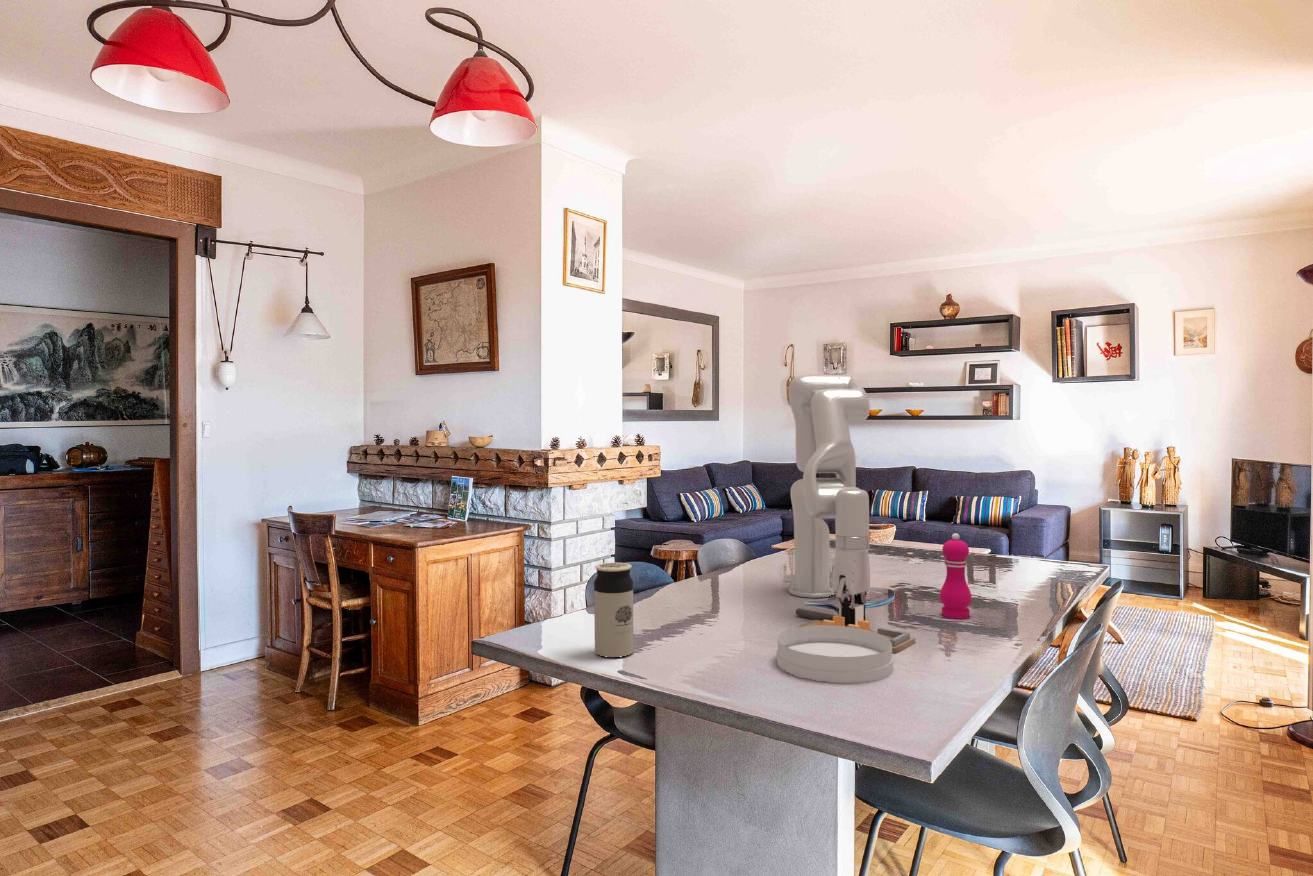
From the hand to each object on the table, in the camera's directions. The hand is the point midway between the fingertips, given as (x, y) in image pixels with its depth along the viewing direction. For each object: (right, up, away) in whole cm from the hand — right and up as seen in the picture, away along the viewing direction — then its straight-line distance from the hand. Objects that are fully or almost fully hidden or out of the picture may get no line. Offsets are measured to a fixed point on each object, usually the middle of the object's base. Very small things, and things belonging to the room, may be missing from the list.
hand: (853, 622), depth 176 cm
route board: (-2, -1, -9) cm, 9 cm away
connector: (-5, -1, +5) cm, 7 cm away
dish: (-11, -2, -26) cm, 29 cm away
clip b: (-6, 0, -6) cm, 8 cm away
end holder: (+3, 0, -13) cm, 14 cm away
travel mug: (-54, -2, -18) cm, 57 cm away
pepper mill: (+27, -1, +10) cm, 29 cm away
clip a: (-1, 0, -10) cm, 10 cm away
